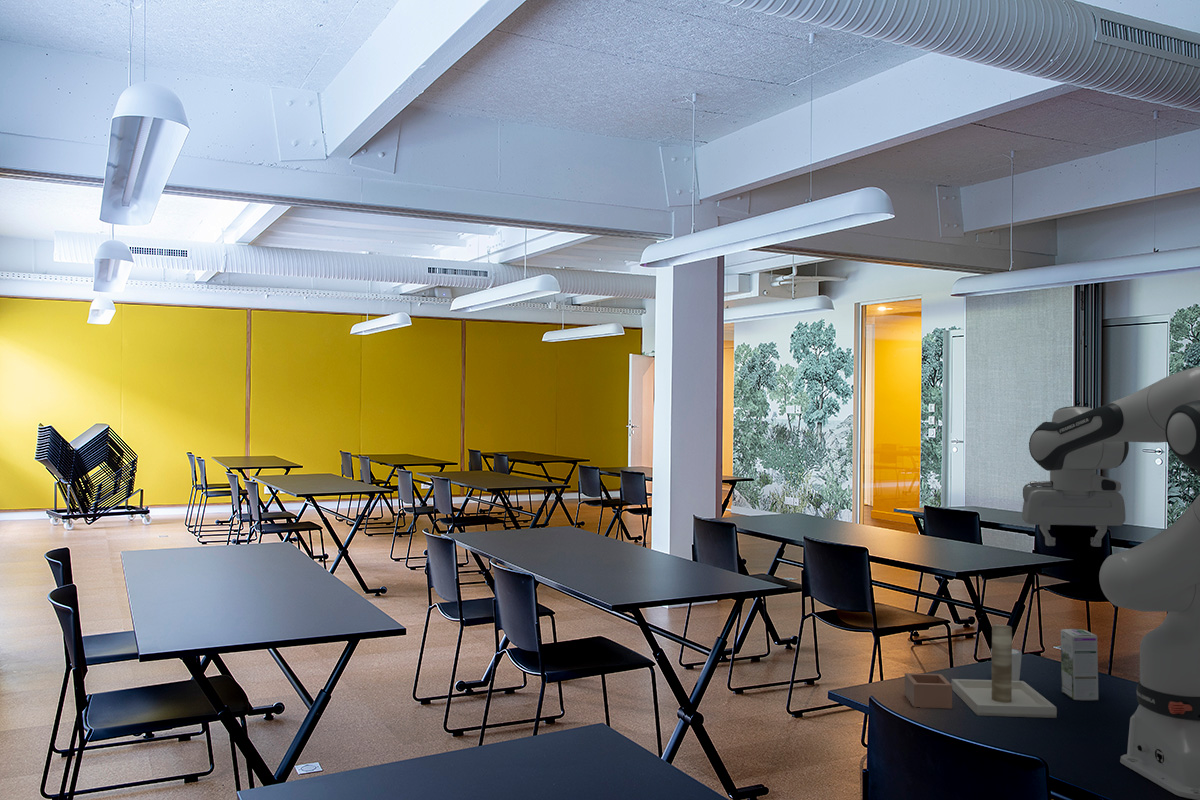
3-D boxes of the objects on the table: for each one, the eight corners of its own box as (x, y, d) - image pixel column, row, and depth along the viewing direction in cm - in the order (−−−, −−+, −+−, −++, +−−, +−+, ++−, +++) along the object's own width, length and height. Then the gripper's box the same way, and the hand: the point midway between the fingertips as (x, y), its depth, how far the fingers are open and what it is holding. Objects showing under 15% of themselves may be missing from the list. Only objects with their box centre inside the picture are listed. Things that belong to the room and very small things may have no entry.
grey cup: (1025, 685, 208) (1025, 655, 209) (994, 683, 210) (994, 653, 210) (1017, 676, 215) (1017, 647, 215) (987, 674, 217) (987, 645, 217)
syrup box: (1099, 700, 198) (1099, 635, 198) (1072, 700, 198) (1072, 634, 198) (1086, 692, 203) (1085, 628, 203) (1059, 692, 203) (1059, 628, 204)
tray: (1056, 717, 187) (1056, 707, 187) (977, 715, 188) (977, 705, 188) (1023, 690, 204) (1023, 680, 204) (951, 688, 206) (951, 679, 206)
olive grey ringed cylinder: (1014, 702, 194) (1014, 629, 194) (995, 702, 194) (995, 628, 195) (1007, 697, 198) (1007, 624, 198) (988, 696, 198) (989, 624, 199)
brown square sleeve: (952, 708, 192) (952, 685, 192) (914, 707, 193) (913, 684, 193) (941, 696, 200) (941, 674, 200) (904, 695, 201) (904, 673, 201)
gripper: (1028, 482, 190) (1028, 547, 190) (1129, 483, 188) (1129, 548, 188) (1017, 480, 196) (1017, 542, 196) (1114, 480, 195) (1114, 544, 195)
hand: (1073, 545), depth 192 cm, fingers open, 8 cm apart
